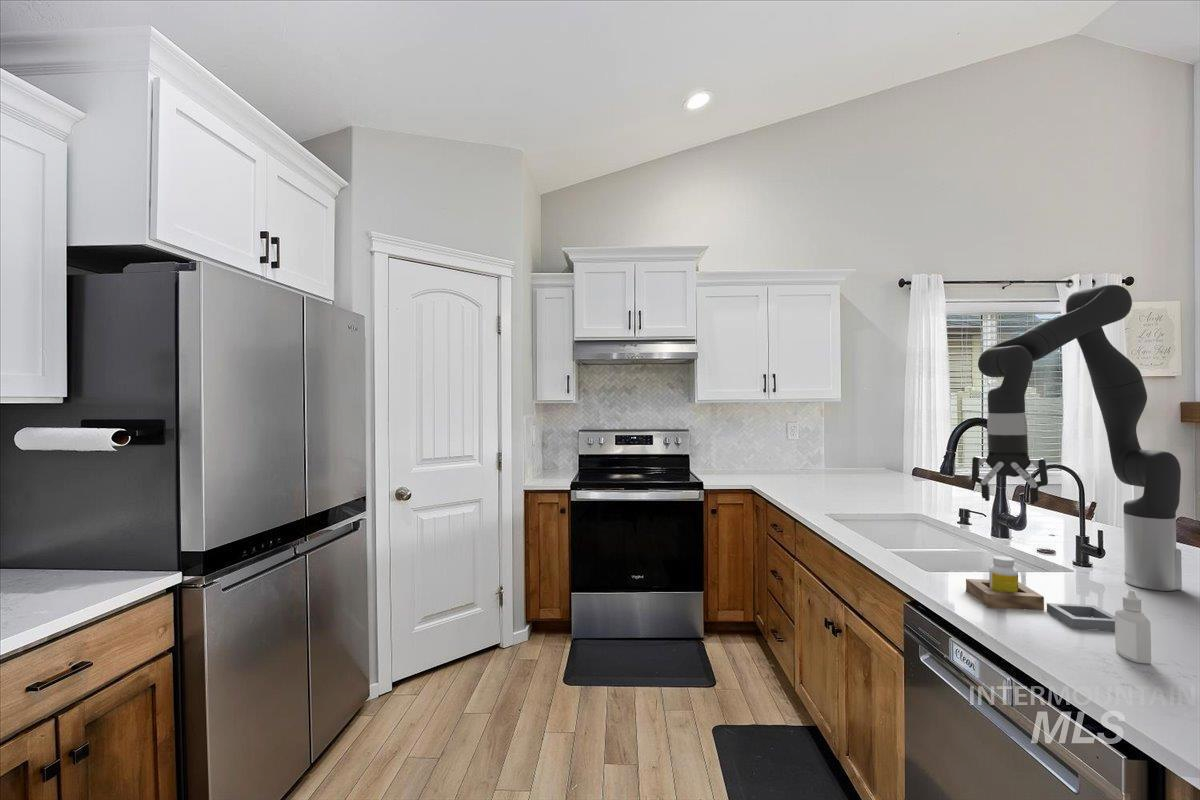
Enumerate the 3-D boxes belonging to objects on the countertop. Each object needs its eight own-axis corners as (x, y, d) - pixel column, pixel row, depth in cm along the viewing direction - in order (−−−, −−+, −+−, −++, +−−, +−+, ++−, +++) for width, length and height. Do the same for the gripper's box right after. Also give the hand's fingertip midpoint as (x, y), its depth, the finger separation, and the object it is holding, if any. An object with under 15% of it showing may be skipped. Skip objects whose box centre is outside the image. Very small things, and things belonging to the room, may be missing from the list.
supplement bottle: (1023, 605, 126) (1022, 561, 126) (996, 604, 128) (995, 560, 128) (1011, 597, 132) (1010, 555, 132) (985, 595, 133) (984, 554, 133)
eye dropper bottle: (1118, 660, 100) (1116, 592, 100) (1114, 648, 104) (1113, 583, 104) (1152, 666, 97) (1151, 597, 97) (1147, 655, 102) (1146, 588, 102)
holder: (1094, 614, 120) (1094, 605, 120) (1124, 631, 112) (1124, 621, 112) (1046, 612, 122) (1046, 603, 122) (1072, 628, 113) (1072, 618, 113)
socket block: (1017, 593, 134) (1017, 581, 134) (1044, 610, 123) (1043, 596, 123) (966, 591, 136) (966, 578, 136) (988, 607, 125) (987, 594, 125)
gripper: (1046, 431, 129) (1049, 502, 129) (973, 431, 139) (975, 497, 139) (1045, 434, 124) (1047, 507, 124) (968, 433, 133) (970, 502, 133)
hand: (1009, 502), depth 131 cm, fingers open, 8 cm apart
